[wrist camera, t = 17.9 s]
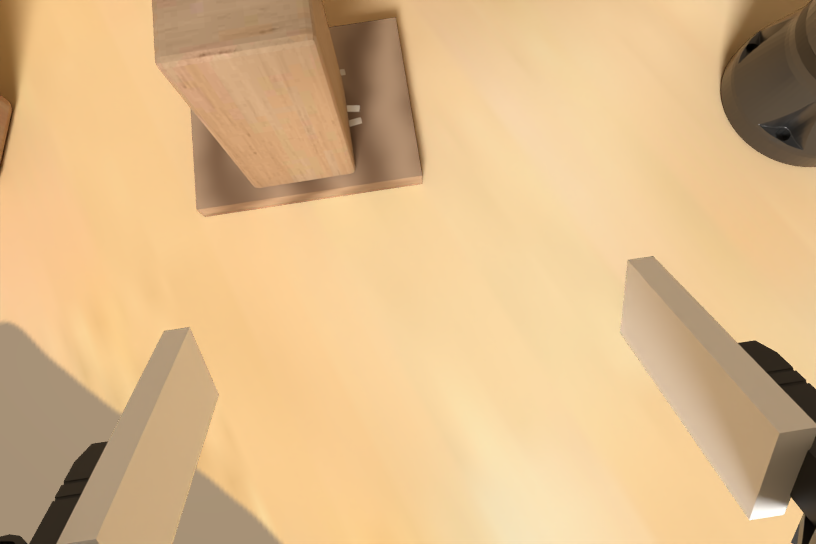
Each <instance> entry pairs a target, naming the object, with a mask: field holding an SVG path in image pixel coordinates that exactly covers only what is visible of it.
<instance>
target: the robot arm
mask: <svg viewBox="0 0 816 544" xmlns="http://www.w3.org/2000/svg"><path fill="white" fill-rule="evenodd" d="M721 97H722V103H723V107H724V110H725V113H726V115H727V117H728V120H729V121H730V123H731V125H732V126H733V128H734V129H735V131H736V132H737V133H738V134H739V135H740V137H741V138H742V139H743V140H744V141H745V142H746V143H748V144H749V145H750V146H751V147H752V148H754V149H755V150H757V151H758V152H760V153H761V154H763V155H765V156H767V157H769V158H771V159H773V160H776V161H779V162H782V163H785V164H789V165H794V166H802V167H816V0H811V1H810V2H809V3H808V4H807V5H806V6H805V7H803V8H801V9H799V10H797V11H795V12H794V13H792V14H790V15H788V16H786V17H784V18H782V19H781V20H779V21H777V22H775V23H773V24H771V25H769V26H768V27H766V28H764V29H762V30H760V31H759V32H758V33H756V34H755V35H753V36H752V37H751V38H750V39H749V40H748V41H747V42H746V43H745V44H744V45H743V46H742V47H741V48H740V49H739V50H738V52H737V53H736V54H735V55H734V56H733V57H732V59H731V60H730V61H729V63H728V65H727V67H726V69H725V71H724V74H723V78H722V84H721ZM620 333H621V335H622V336H623V338H624V339H625V341H626V342H627V344H628V345H629V346H630V348H631V349H632V351H633V352H634V354H635V355H636V357H637V358H638V360H639V361H640V362H641V364H642V365H643V367H644V368H645V370H646V371H647V373H648V374H649V375H650V377H651V378H652V380H653V381H654V383H655V384H656V386H657V387H658V389H659V390H660V391H661V393H662V394H663V396H664V397H665V399H666V400H667V402H668V403H669V404H670V406H671V407H672V409H673V410H674V412H675V413H676V415H677V416H678V417H679V419H680V420H681V422H682V423H683V425H684V426H685V428H686V429H687V431H688V432H689V433H690V435H691V436H692V438H693V439H694V441H695V442H696V444H697V445H698V446H699V448H700V449H701V451H702V452H703V454H704V455H705V457H706V458H707V459H708V461H709V462H710V464H711V465H712V467H713V468H714V470H715V471H716V473H717V474H718V475H719V477H720V478H721V480H722V481H723V483H724V484H725V486H726V487H727V488H728V490H729V491H730V493H731V494H732V496H733V497H734V499H735V500H736V502H737V503H738V504H739V506H740V507H741V509H742V510H743V512H744V513H745V515H746V516H747V517H748V519H749V520H752V519H759V518H765V517H772V516H778V515H784V513H785V511H786V508H787V506H788V503H789V501H790V498H791V497H792V499H793V500H794V501H795V502H796V504H797V505H798V506H799V507H800V509H801V510H802V511H803V512H804V514H803V516H802V518H801V521H800V523H799V525H798V528H797V530H796V532H795V535H794V537H793V539H792V542H791V543H793V544H816V389H815V388H814V387H813V386H812V385H811V384H810V383H808V384H807V383H806V380H805V379H804V378H803V377H802V376H801V375H800V374H799V373H798V372H797V371H794V370H793V367H792V366H791V365H790V364H789V363H788V362H787V361H786V360H784V359H783V358H782V357H781V356H780V355H779V354H778V353H777V352H775V351H773V350H772V349H770V348H768V347H766V346H764V345H762V344H761V343H759V342H757V341H749V342H742V343H737V342H736V341H735V340H734V339H733V338H732V337H731V336H730V335H729V334H728V333H727V332H726V331H725V330H724V329H723V328H722V326H721V325H720V324H719V323H718V322H717V321H716V320H715V319H714V318H713V317H712V316H711V315H710V314H709V313H708V312H707V311H706V310H705V309H704V308H703V307H702V306H701V305H700V304H699V303H698V302H697V301H696V300H695V299H694V298H693V297H692V296H691V295H690V294H689V293H688V292H687V290H686V289H685V288H684V287H683V286H682V285H681V284H680V283H679V282H678V281H677V280H676V279H675V278H674V277H673V276H672V275H671V274H670V273H669V272H668V271H667V270H666V269H665V268H664V267H663V266H662V265H661V264H660V263H659V262H658V261H657V260H656V259H655V258H654V257H653V256H651V257H644V258H637V259H631V260H628V261H627V271H626V281H625V290H624V300H623V309H622V319H621V329H620ZM218 395H219V394H218V392H217V389H216V387H215V385H214V382H213V380H212V378H211V375H210V373H209V371H208V368H207V366H206V364H205V361H204V359H203V357H202V354H201V352H200V350H199V348H198V345H197V343H196V341H195V338H194V336H193V334H192V331H191V329H190V327H187V328H180V329H174V330H167V331H164V332H163V334H162V336H161V338H160V340H159V342H158V344H157V346H156V348H155V350H154V352H153V354H152V356H151V358H150V360H149V362H148V364H147V366H146V368H145V370H144V372H143V374H142V376H141V377H140V379H139V381H138V383H137V385H136V387H135V389H134V391H133V393H132V395H131V397H130V399H129V401H128V403H127V405H126V407H125V409H124V411H123V413H122V415H121V417H120V419H119V421H118V423H117V425H116V427H115V429H114V431H113V433H112V435H111V437H110V439H109V441H108V442H101V443H95V444H91V446H89V447H88V448H87V450H86V451H85V452H84V453H83V454H82V455H81V456H80V457H79V458H78V459H77V460H76V461H75V462H74V464H73V466H72V468H71V469H70V472H69V473H68V475H67V476H66V478H65V480H64V485H61V487H60V489H59V491H58V493H57V494H56V496H55V501H53V502H52V504H51V506H50V507H49V509H48V511H47V513H46V514H45V516H44V518H43V520H42V522H41V524H40V525H39V527H38V529H37V531H36V533H35V534H34V536H33V538H32V540H31V542H30V544H173V541H174V537H175V534H176V531H177V528H178V525H179V521H180V518H181V515H182V512H183V508H184V505H185V501H186V498H187V496H188V492H189V489H190V486H191V483H192V479H193V476H194V473H195V470H196V466H197V463H198V460H199V457H200V454H201V450H202V447H203V444H204V441H205V437H206V434H207V431H208V428H209V425H210V421H211V418H212V415H213V412H214V408H215V405H216V402H217V399H218ZM0 544H27V543H26V542H25V541H24V540H23V538H22V537H20V536H16V535H10V534H9V535H6V536H1V537H0Z"/></svg>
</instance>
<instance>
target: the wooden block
mask: <svg viewBox="0 0 816 544" xmlns="http://www.w3.org/2000/svg"><path fill="white" fill-rule="evenodd" d="M152 8H153V28H154V48H155V63H156V65H157V67H158V68H159V69H160V71H161V72H162V73H163V74H164V76H165V77H166V78H167V79H168V81H169V82H170V83H171V84H172V86H173V87H174V88H175V89H176V90H177V92H178V93H179V94H180V95H181V97H182V98H183V99H184V100H185V102H186V103H187V104H188V105H189V107H190V108H191V109H192V110H193V112H194V113H195V114H196V115H197V117H198V118H199V119H200V120H201V121H202V123H203V124H204V125H205V126H206V128H207V129H208V130H209V131H210V133H211V134H212V135H213V136H214V138H215V139H216V140H217V141H218V143H219V144H220V145H221V146H222V148H223V149H224V150H225V151H226V152H227V154H228V155H229V156H230V157H231V159H232V160H233V161H234V162H235V164H236V165H237V166H238V167H239V169H240V170H241V171H242V172H243V174H244V175H245V176H246V177H247V179H248V180H249V181H250V182H251V184H252V185H253V186H254V187H255V188H264V187H271V186H277V185H283V184H290V183H296V182H302V181H309V180H315V179H321V178H327V177H334V176H340V175H346V174H352V173H354V172H355V168H356V167H355V160H354V154H353V147H352V140H351V133H350V126H349V119H348V112H347V105H346V98H345V91H344V85H343V81H342V77H341V73H340V69H339V66H338V62H337V58H336V54H335V50H334V46H333V42H332V39H331V35H330V31H329V27H328V23H327V19H326V15H325V12H324V8H323V4H322V0H152Z"/></svg>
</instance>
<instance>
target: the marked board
mask: <svg viewBox="0 0 816 544" xmlns="http://www.w3.org/2000/svg"><path fill="white" fill-rule="evenodd" d="M329 31H330V35H331V39H332V42H333V46H334V50H335V54H336V58H337V62H338V66H339V69H340V73H341V77H342V81H343V85H344V91H345V98H346V105H347V112H348V119H349V126H350V133H351V140H352V147H353V154H354V160H355V167H356V168H355V172H354V173H352V174H346V175H340V176H334V177H327V178H321V179H315V180H309V181H302V182H296V183H290V184H283V185H277V186H271V187H264V188H255V187H254V186H253V185H252V184H251V182H250V181H249V180H248V179H247V177H246V176H245V175H244V174H243V172H242V171H241V170H240V169H239V167H238V166H237V165H236V164H235V162H234V161H233V160H232V159H231V157H230V156H229V155H228V154H227V152H226V151H225V150H224V149H223V148H222V146H221V145H220V144H219V143H218V141H217V140H216V139H215V138H214V136H213V135H212V134H211V133H210V131H209V130H208V129H207V128H206V126H205V125H204V124H203V123H202V121H201V120H200V119H199V118H198V117H197V115H196V114H195V113H194V112H193V110H192V109H191V123H192V140H193V157H194V174H195V191H196V207H197V211H199V212H200V213H201V214H202V215H203V216H205V217H207V216H213V215H220V214H227V213H233V212H240V211H246V210H253V209H259V208H266V207H273V206H279V205H286V204H292V203H299V202H305V201H312V200H319V199H325V198H332V197H338V196H345V195H351V194H358V193H365V192H371V191H378V190H384V189H391V188H397V187H404V186H411V185H417V184H422V171H421V165H420V159H419V153H418V147H417V141H416V135H415V130H414V124H413V118H412V112H411V106H410V100H409V94H408V88H407V82H406V76H405V70H404V64H403V58H402V52H401V46H400V40H399V34H398V28H397V22H396V17H395V18H388V19H381V20H375V21H368V22H362V23H355V24H348V25H342V26H335V27H329Z"/></svg>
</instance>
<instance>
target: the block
mask: <svg viewBox="0 0 816 544" xmlns="http://www.w3.org/2000/svg"><path fill="white" fill-rule="evenodd" d="M11 113H12V108H11V104H10V103H9V101H8V100H6V99H5V98H4V97H2V96H1V95H0V163H1V158H2V154H3V149H4V144H5V140H6V135H7V131H8V126H9V122H10V117H11Z"/></svg>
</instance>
